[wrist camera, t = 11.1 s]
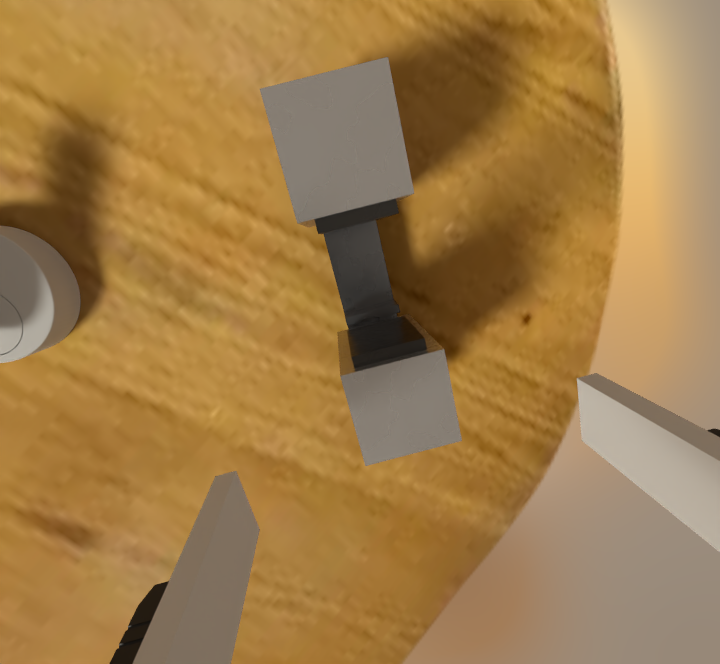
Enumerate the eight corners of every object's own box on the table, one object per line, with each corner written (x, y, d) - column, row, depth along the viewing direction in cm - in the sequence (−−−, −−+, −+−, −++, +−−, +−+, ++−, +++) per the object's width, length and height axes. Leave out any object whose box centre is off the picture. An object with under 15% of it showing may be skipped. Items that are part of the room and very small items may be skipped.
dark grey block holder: (283, 126, 23) (247, 43, 13) (358, 107, 24) (379, 10, 13) (357, 400, 29) (372, 490, 19) (418, 384, 29) (466, 465, 19)
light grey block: (422, 379, 26) (461, 440, 18) (355, 397, 26) (365, 465, 18) (407, 305, 25) (441, 337, 17) (335, 323, 24) (337, 364, 17)
